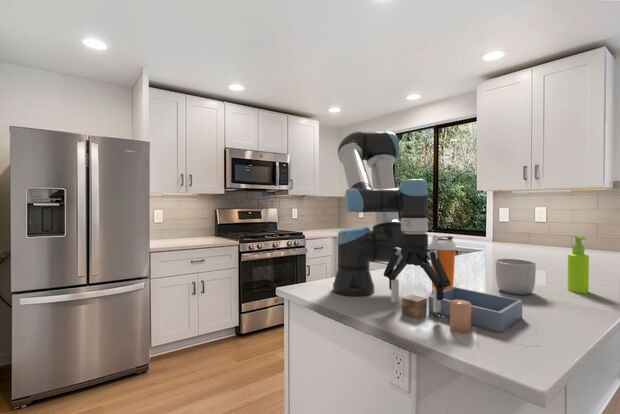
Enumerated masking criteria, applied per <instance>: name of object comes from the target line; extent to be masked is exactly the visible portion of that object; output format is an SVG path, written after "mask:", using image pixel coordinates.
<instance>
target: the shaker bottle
mask: <svg viewBox="0 0 620 414" xmlns="http://www.w3.org/2000/svg"><path fill="white" fill-rule="evenodd" d="M454 238H455V237H454V236H450V235H448V236H445V235H444V236H437V235H433V237H432V240H431V241H430V242H429V250H430V251H429V252H433V251H438V252H439V259H440V261H441V264H442V266H443V268H444V270H445V272H446V275H447V277H448V279H449V281H450V283H451V285H450V286H448V287H444V289H443V291H444V290H447V289H450V288H452V287H454V277H455V261H456V259H455V258H456V249H457V246H456V245H457V244H456V243H455V241H453V239H454ZM430 265H431V267H432V268H433V270H434V271H435V269H434V266H433V264H432V262H431V261H430ZM435 272H436V271H435ZM436 274H437V273H436ZM431 287H432V288H431V290H432V291H433V288H435V285H434V284H433V282H432V281H431Z"/></svg>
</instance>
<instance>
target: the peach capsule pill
mask: <svg viewBox="0 0 620 414" xmlns="http://www.w3.org/2000/svg"><path fill="white" fill-rule="evenodd" d="M449 330H450V331H452V330H453V331H452V332H454V331H455V333H457V332H459V334H469V332H470V333H471V332H472V325H471V303H470V302H468V301H465V300H451V301H450V319H449Z"/></svg>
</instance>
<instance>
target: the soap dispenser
mask: <svg viewBox="0 0 620 414" xmlns="http://www.w3.org/2000/svg"><path fill="white" fill-rule="evenodd" d="M573 238H574V239H575V242H574V244H572V247H571V248H572V249H571V250H572V253H568V254H567V291H568V292H572V293H577V294H588V293H589V288H590V287H589V285H590V284H589V281H590V280H589V277H590V275H589V274H590V273H589V272H590V267H589V266H590V263H589V262H590V255H588V254H585V245H584V244H582V240H586V237H585V236H583V235H574V236H573Z"/></svg>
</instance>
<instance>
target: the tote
mask: <svg viewBox="0 0 620 414" xmlns="http://www.w3.org/2000/svg"><path fill="white" fill-rule="evenodd" d="M451 300H465V301H468V302H470V303H471V324H472V325H471V326H474V325H475V326H474V327H477V326H478V327H477V328H481V327H482V328H481V329H484V330H488V329H489V331H492V330H493V332H496V333H499V332H500V334H501V332H502V333H503V332H504V330H505V331H506V330H507V329H509V328H510V327H513V325H514V323H517V322H519V321H520V320H521V319H523V300H522V299H516V298H512V297H507V296H501V295H497V294H492V293H486V292H483V291H481V292H480V291H476V290H471V289H466V288H461V287H457V286H453V287H452V288H450V289H447V290H444V291H443V300H441V311H439V312H436V313H435V312H433V294H431V295H429V296H428V314H430V313H433V314H432V315H434V314H437V315H440V316H439V317H441V316H444V317H443V318H445V317H446V318H445V319H448V318H449V320H450V301H451ZM437 315H436V316H437ZM508 327H509V328H508Z"/></svg>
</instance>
